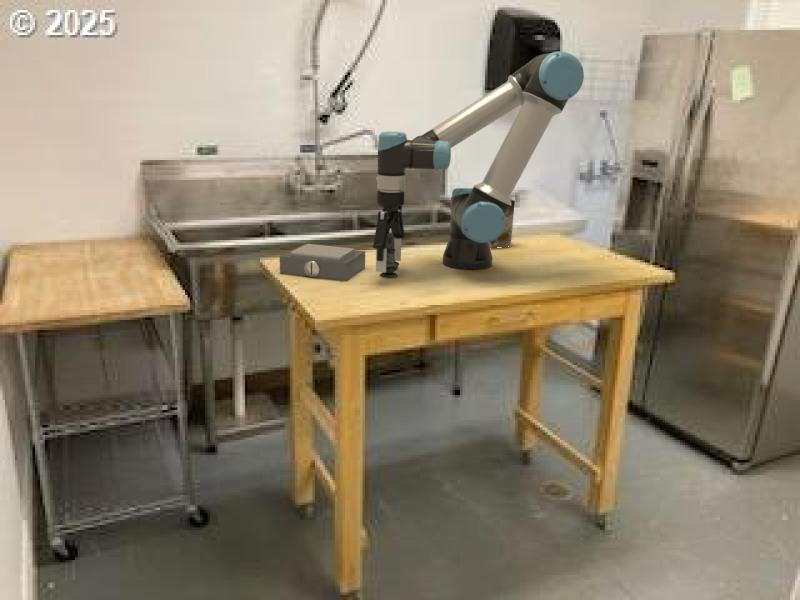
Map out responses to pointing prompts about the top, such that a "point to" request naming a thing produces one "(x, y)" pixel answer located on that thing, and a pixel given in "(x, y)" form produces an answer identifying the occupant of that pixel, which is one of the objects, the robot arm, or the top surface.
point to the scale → (323, 262)
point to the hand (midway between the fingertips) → (388, 266)
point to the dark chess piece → (390, 260)
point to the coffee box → (505, 230)
